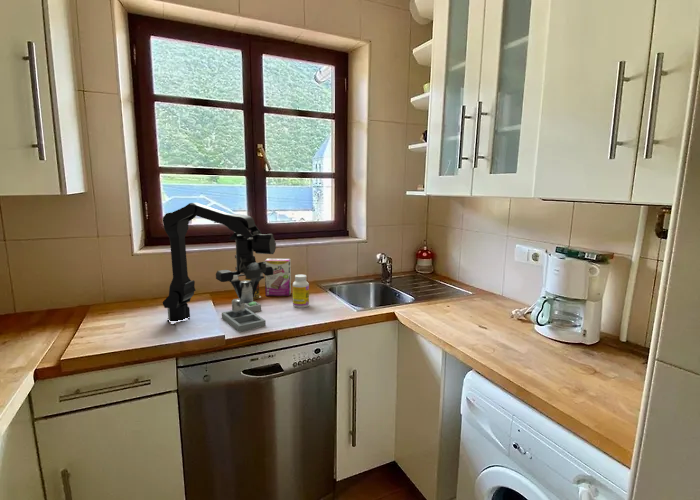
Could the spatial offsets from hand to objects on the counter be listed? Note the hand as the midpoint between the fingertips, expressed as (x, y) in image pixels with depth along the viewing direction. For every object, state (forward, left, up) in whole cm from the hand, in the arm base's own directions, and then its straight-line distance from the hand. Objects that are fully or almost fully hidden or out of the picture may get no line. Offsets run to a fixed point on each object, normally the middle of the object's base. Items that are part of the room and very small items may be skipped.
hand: (246, 296), depth 132 cm
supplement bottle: (+27, +9, -11) cm, 31 cm away
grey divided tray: (0, +4, -11) cm, 11 cm away
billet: (0, 0, -2) cm, 2 cm away
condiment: (+14, +30, -11) cm, 35 cm away
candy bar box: (+27, +29, -11) cm, 41 cm away
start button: (+8, +14, -10) cm, 19 cm away
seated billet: (0, +8, -10) cm, 13 cm away
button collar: (+8, +14, -11) cm, 19 cm away
